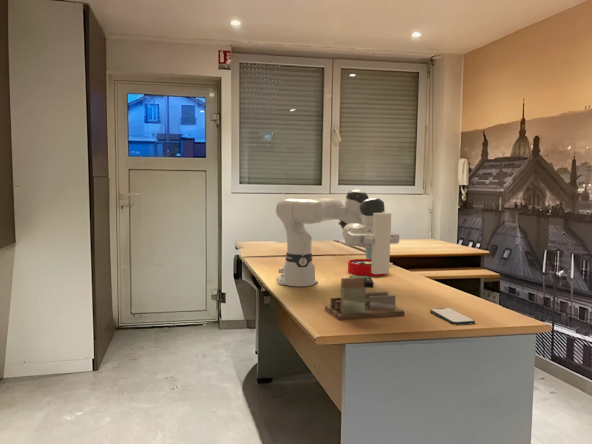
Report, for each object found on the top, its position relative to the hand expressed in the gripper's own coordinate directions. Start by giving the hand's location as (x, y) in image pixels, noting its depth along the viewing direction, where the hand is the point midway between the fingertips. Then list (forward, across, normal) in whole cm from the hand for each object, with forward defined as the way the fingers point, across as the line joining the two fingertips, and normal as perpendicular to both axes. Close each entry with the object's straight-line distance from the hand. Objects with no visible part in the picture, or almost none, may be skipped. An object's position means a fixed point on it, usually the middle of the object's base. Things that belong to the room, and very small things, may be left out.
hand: (382, 240), depth 170 cm
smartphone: (+14, -21, -26) cm, 36 cm away
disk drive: (-46, -14, -27) cm, 55 cm away
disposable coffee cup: (-98, -46, -26) cm, 112 cm away
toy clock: (-70, -29, -26) cm, 80 cm away
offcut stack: (+5, +13, -24) cm, 28 cm away
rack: (0, +6, -26) cm, 27 cm away
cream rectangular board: (-1, 0, -12) cm, 12 cm away
